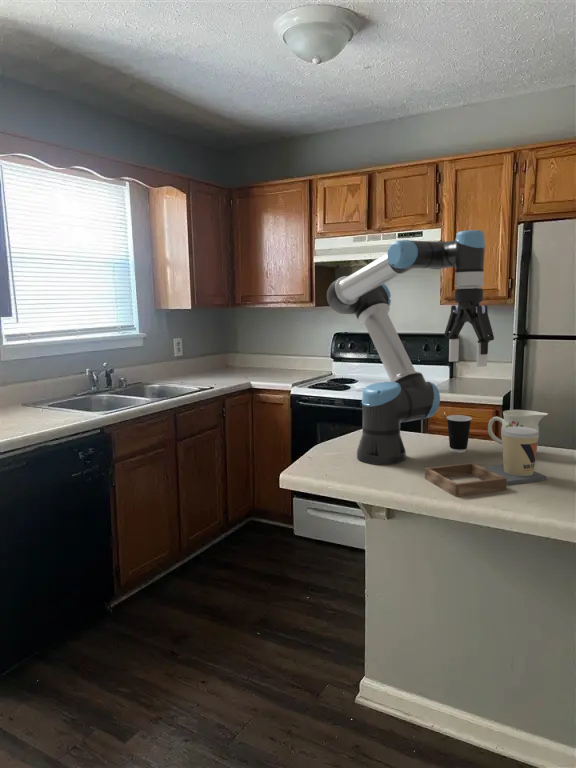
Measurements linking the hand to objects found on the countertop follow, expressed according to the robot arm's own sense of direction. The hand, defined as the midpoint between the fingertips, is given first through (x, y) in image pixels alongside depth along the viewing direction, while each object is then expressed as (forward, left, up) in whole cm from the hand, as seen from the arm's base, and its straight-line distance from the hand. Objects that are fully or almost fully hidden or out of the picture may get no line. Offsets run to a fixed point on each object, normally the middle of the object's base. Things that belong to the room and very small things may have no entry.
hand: (467, 363), depth 158 cm
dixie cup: (-17, +9, -31) cm, 36 cm away
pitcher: (-8, +24, -31) cm, 40 cm away
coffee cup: (+11, +10, -30) cm, 33 cm away
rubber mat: (+10, +8, -31) cm, 33 cm away
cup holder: (+12, -8, -31) cm, 34 cm away
